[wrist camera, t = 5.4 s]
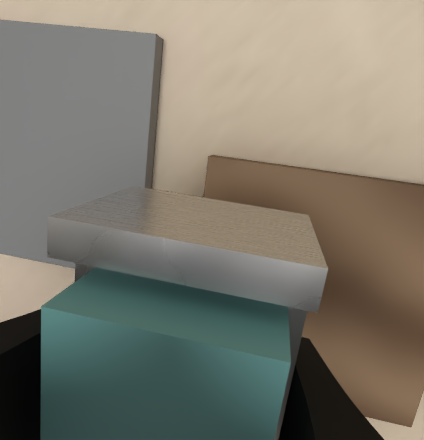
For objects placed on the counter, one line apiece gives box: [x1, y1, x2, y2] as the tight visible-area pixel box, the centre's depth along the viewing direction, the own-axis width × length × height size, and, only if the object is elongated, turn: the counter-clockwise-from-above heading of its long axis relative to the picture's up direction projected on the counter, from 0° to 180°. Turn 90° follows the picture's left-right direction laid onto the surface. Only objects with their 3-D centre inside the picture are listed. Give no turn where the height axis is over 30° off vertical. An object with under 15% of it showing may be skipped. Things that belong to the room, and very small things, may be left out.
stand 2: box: [204, 155, 424, 427], centre depth 18 cm, size 12×12×1 cm
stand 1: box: [0, 20, 163, 268], centre depth 19 cm, size 12×12×1 cm
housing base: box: [47, 186, 328, 440], centre depth 9 cm, size 8×5×4 cm, turn 172°
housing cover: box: [40, 267, 291, 440], centre depth 7 cm, size 6×4×2 cm
